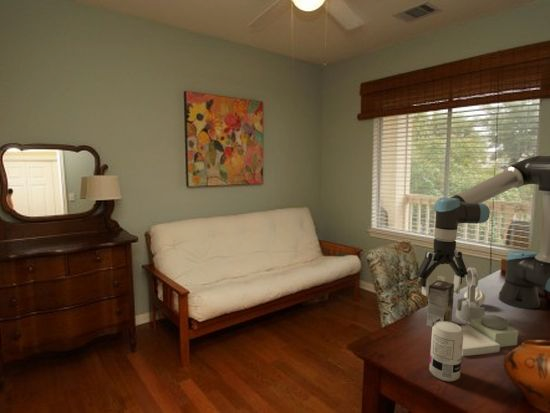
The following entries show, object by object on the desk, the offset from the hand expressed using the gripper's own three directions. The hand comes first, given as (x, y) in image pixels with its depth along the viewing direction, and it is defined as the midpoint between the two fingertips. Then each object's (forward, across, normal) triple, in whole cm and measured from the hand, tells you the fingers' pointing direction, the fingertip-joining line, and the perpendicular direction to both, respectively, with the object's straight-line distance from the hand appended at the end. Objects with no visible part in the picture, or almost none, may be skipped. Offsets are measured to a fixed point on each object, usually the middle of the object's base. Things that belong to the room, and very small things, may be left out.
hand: (440, 293), depth 132 cm
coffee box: (+13, 0, 0) cm, 13 cm away
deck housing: (+12, -5, +14) cm, 19 cm away
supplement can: (+13, +18, +28) cm, 36 cm away
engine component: (+12, -16, -3) cm, 21 cm away
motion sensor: (+12, -26, -12) cm, 32 cm away
